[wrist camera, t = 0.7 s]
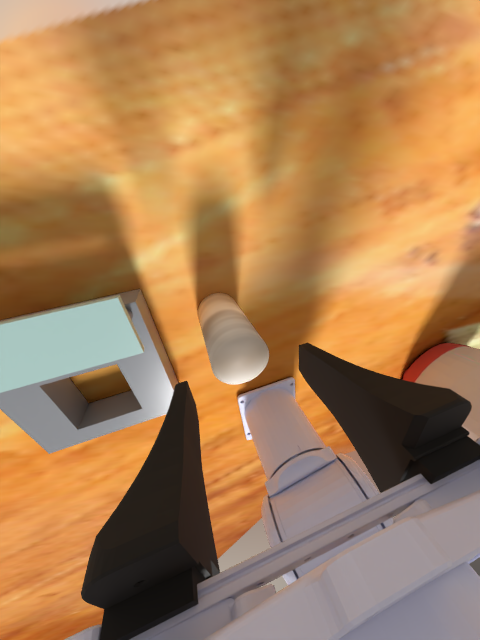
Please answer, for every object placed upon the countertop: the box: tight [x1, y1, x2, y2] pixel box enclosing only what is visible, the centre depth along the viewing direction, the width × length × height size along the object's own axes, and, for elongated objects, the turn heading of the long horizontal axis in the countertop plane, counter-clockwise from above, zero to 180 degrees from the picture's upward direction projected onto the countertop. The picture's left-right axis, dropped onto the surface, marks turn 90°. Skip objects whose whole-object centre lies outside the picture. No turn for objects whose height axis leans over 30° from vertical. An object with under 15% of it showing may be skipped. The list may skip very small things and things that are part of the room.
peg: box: [198, 293, 269, 384], centre depth 17 cm, size 4×4×8 cm
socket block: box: [0, 289, 178, 454], centre depth 17 cm, size 14×12×6 cm
